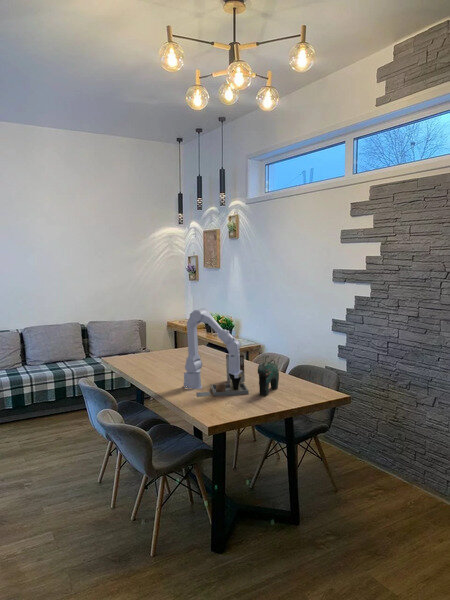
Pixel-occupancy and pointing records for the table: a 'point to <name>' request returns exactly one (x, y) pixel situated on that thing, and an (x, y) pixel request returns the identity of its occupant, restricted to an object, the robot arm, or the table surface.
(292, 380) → the table surface
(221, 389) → the walnut box
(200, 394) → the slate coaster
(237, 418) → the table surface
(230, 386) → the birch box
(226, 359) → the coffee box
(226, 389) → the bin
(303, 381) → the table surface
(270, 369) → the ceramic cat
